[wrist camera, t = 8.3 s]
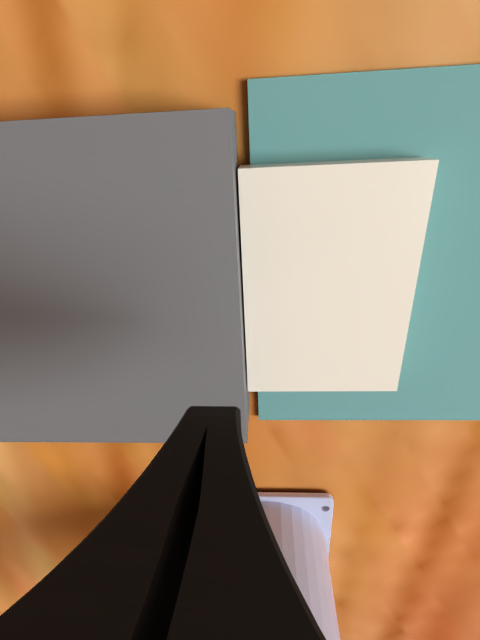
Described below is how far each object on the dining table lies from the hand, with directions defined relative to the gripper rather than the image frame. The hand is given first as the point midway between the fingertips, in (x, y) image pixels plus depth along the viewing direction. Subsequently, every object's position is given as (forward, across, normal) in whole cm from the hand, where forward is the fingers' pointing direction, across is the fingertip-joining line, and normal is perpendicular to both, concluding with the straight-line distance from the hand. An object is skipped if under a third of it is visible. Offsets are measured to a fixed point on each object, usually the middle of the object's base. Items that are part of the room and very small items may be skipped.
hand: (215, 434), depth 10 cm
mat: (+9, -7, -1) cm, 11 cm away
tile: (+8, -4, -1) cm, 9 cm away
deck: (+9, +8, -1) cm, 12 cm away
